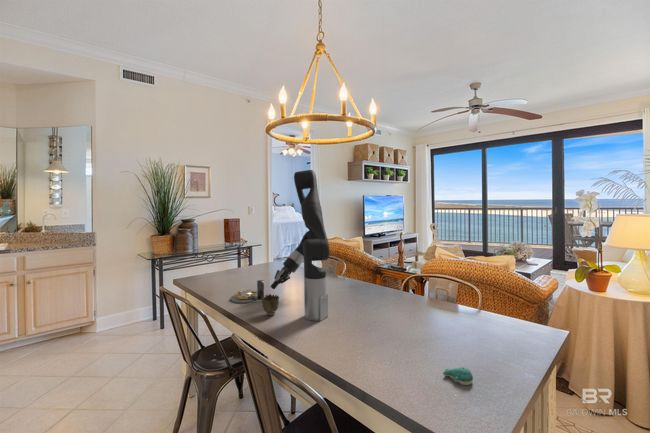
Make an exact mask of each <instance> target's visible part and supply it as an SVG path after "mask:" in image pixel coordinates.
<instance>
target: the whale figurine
mask: <svg viewBox="0 0 650 433" xmlns="http://www.w3.org/2000/svg"><path fill="white" fill-rule="evenodd" d="M442 374H443V376H446V377H449V378H450V379H452V380H453V381H454V382H456V383H458V384H460V385H463V386H468V385H471V384H472V383H473V379H474V376H473V373H472V372H471V370H470V369H468V367H465V366H461V367H455V368H451V369H450V368H445V370H444V371H443V372H442Z"/></svg>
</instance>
